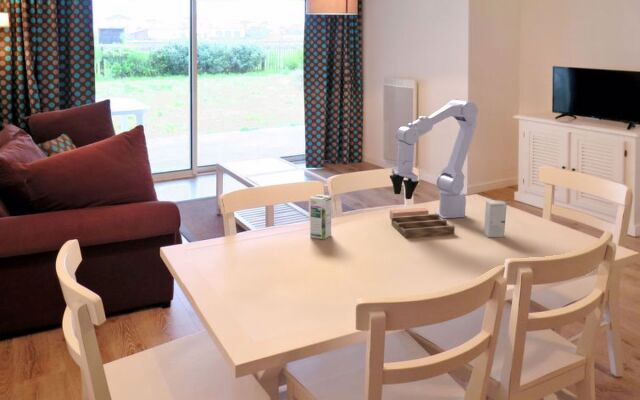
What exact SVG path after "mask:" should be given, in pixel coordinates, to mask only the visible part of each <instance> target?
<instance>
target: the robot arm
mask: <svg viewBox="0 0 640 400" xmlns="http://www.w3.org/2000/svg"><path fill="white" fill-rule="evenodd" d="M478 113H479V109H478V107H477V104H476V103H475V102H474V101H471V100H469V101H468V100H464V99H463V100H462V99H459V98H454V99H452V100H451V101H448V102H447V103H446V104H445V105H444V106H442V107H441V108H439V110H437V111H435V112H434V113H432V114H431V115H429V116H425V115H423V116H422V115H420V116H418V119H417V120H414V121H413V122H412V123H411V122H409V123H407V126H406V125H405V126H400V128H398V129H397V131H396V133H395V138H396V140H397V158H396V159H397V160H396V162H397V163H396V167H392V168H391V175H390V174H389V178H390V180H391V183H392V188H393V192H394V195H401V193H402V188H403V186H404V195H405V196H404V197H405V200H412V198H413V195H414V192H415V190H416V188H417V186H418V185H419V183H420V180H418V178H419V177H418V176H419V175H416V173H414V172H413V170H414V169H413V167H414V156H415V155H414V154H415V144H416V143H417V142H418V140H419V138H420V137H421V136H424V135H426V134H427V133H428V132H431V131H432V130H433V127H434V125H436V124H438V123H440V122H442V121H444V120H445V119H448V118H450V117H453V118H454V119H455V121H457V123H458V125H459V130H458V133H457V136H456V139H455V142H454V145H453V148H452V152H451V154H450V157H449V160H448V163H447V166H445V167H444V168H443V169H441V173H440V174H439V176H437V179H436V186H437V188H438V191H439V210H438V211H435V212H434V214H439V218H441V219H454V218H466V217H467V216H466V204H467V203H466V202H467V201H466V200H467V199H466V195H465V193H464V192H462V191H463V189H464V186H465V185H464V180H465V179H466V178H465V174H464V173H463V171H462V170H463V168H464V165H465V161H466V158H467V156H468V152H469V149H470V146H471V143H472V140H473V136H474V134H475V130H476V127H477V117H478Z"/></svg>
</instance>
